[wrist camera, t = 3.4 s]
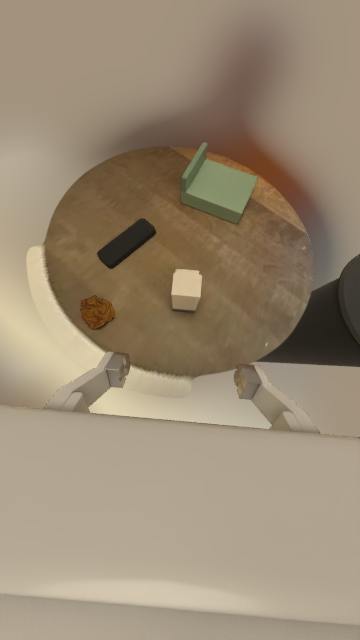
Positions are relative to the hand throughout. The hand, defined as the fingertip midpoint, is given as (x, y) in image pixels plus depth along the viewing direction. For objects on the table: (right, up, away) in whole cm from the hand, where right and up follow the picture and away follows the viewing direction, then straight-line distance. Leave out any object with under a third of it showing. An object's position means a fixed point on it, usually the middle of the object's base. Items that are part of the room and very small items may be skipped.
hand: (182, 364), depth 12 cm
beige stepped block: (+1, +9, +23) cm, 25 cm away
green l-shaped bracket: (+10, +37, +30) cm, 49 cm away
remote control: (-13, +22, +26) cm, 37 cm away
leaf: (-18, +5, +22) cm, 29 cm away
